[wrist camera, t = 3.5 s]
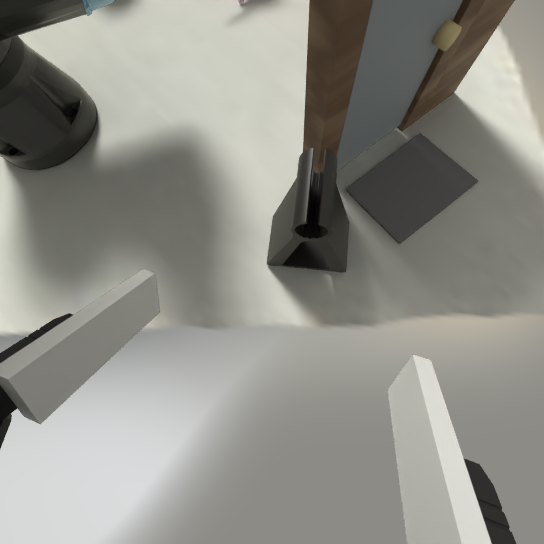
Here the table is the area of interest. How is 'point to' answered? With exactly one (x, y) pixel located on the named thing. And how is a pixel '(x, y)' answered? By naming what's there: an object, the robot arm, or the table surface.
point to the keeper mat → (410, 187)
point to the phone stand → (311, 220)
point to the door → (393, 67)
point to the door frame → (345, 56)
